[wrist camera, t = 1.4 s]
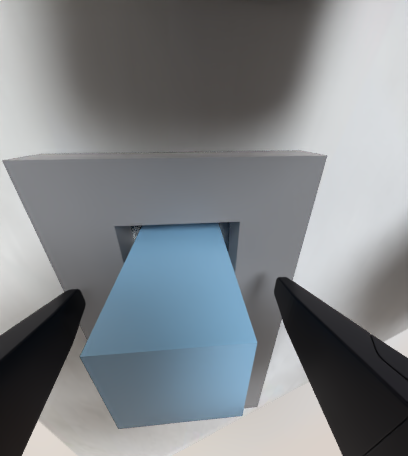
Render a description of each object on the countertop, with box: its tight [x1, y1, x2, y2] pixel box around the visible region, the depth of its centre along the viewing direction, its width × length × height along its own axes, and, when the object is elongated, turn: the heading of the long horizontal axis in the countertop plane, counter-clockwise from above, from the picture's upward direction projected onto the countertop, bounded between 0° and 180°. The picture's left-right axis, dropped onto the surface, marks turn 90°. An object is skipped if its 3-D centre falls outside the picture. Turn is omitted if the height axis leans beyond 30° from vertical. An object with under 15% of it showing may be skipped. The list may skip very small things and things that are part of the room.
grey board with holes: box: [2, 151, 327, 408], centre depth 13 cm, size 12×22×2 cm, turn 0°
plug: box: [80, 222, 257, 429], centre depth 8 cm, size 4×5×7 cm
